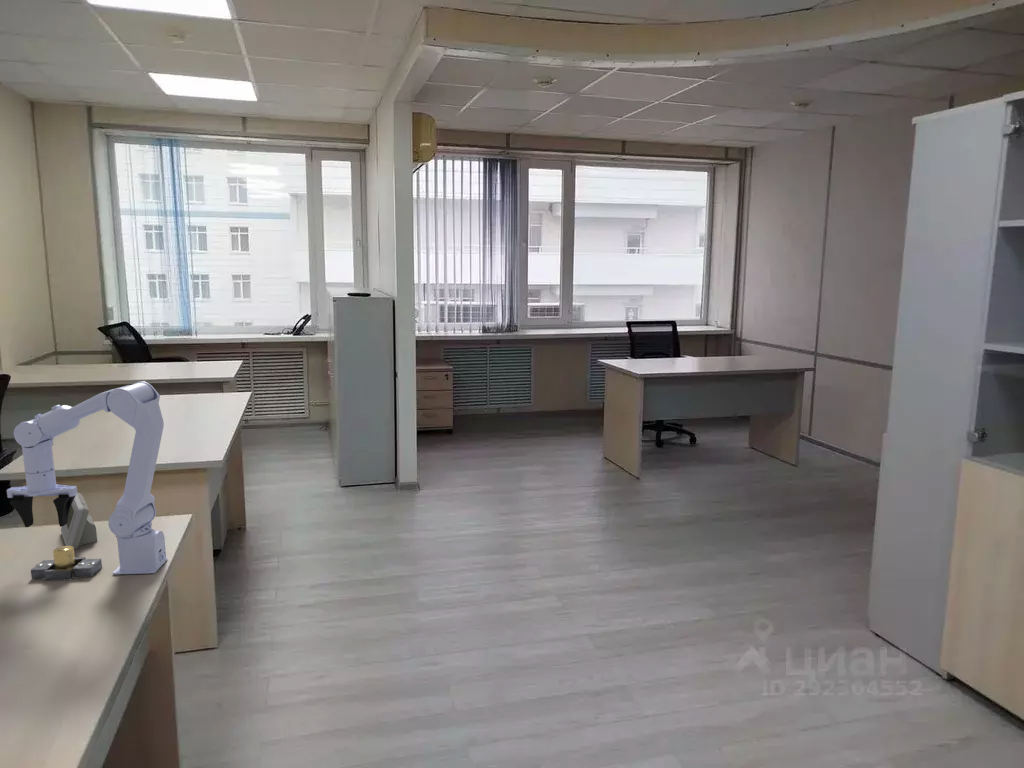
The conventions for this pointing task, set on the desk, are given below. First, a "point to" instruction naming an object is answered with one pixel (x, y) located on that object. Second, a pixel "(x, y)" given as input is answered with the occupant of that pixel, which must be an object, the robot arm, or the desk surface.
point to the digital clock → (79, 524)
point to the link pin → (64, 558)
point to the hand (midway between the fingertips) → (46, 525)
